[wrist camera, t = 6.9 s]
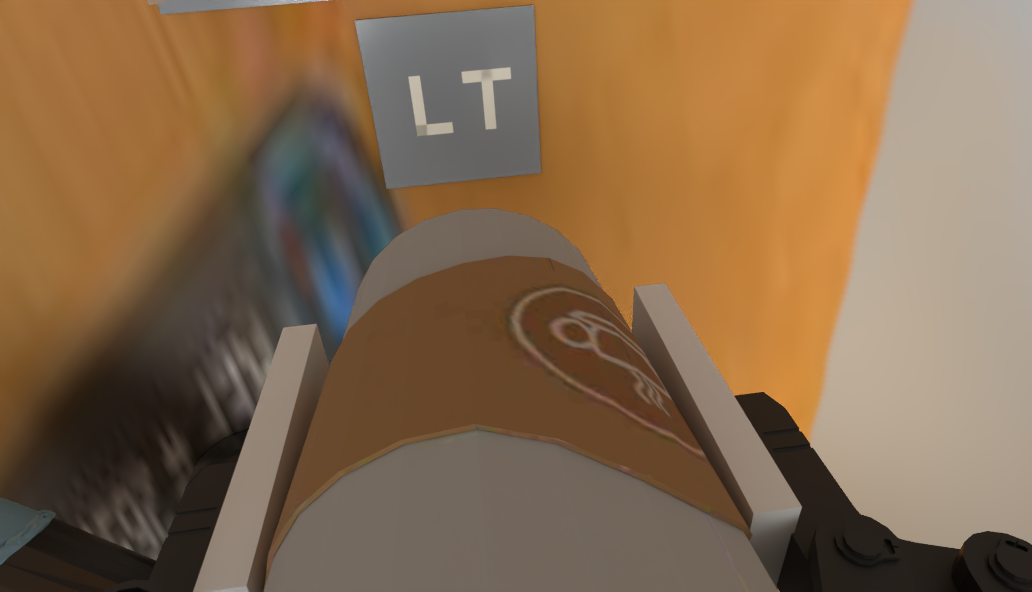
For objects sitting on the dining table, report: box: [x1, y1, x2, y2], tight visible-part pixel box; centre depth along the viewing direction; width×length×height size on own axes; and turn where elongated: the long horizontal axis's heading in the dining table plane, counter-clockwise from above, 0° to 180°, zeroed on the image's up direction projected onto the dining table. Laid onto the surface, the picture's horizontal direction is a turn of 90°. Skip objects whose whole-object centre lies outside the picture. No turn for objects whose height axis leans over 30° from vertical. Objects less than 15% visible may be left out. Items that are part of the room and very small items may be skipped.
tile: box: [355, 5, 541, 189], centre depth 34 cm, size 9×9×1 cm
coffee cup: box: [263, 208, 778, 592], centre depth 11 cm, size 8×8×15 cm
